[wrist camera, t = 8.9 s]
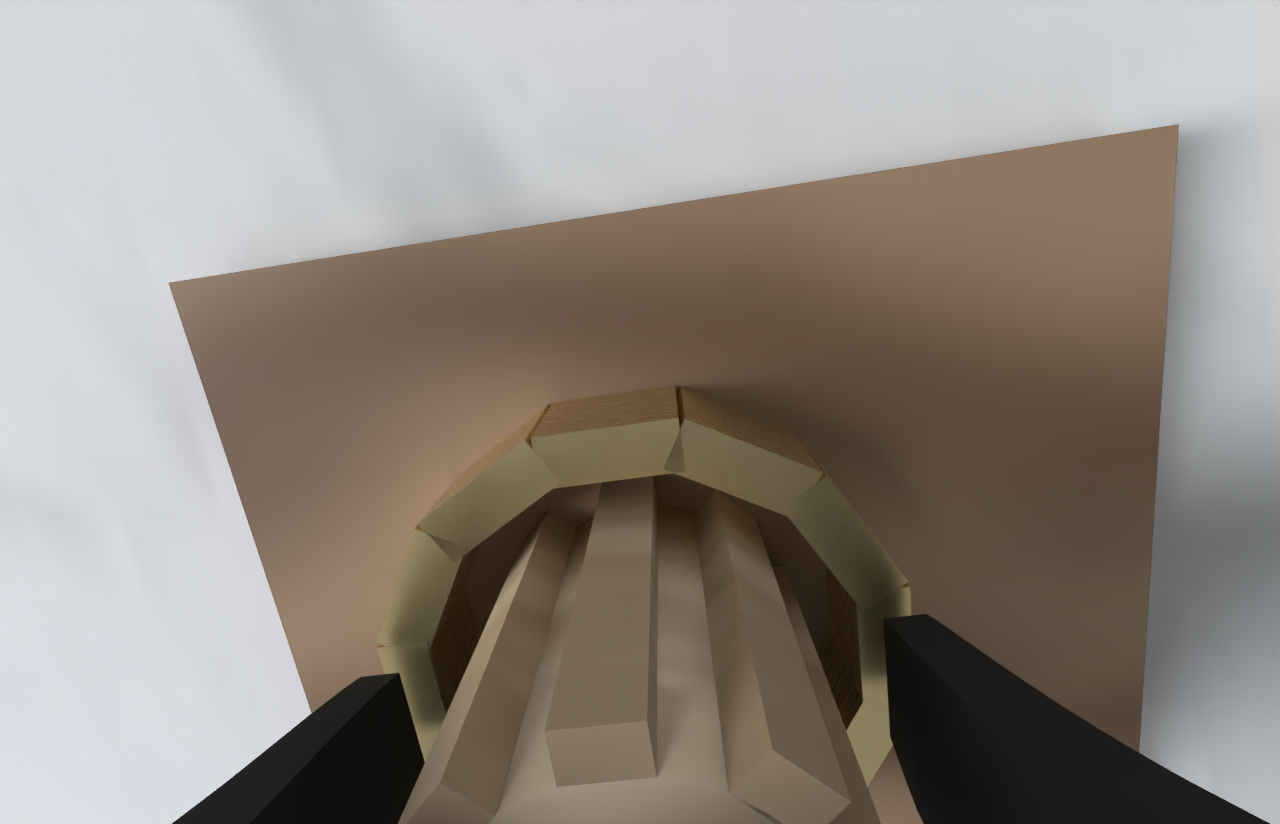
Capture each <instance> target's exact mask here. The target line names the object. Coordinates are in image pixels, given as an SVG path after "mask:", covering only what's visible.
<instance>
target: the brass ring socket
mask: <svg viewBox="0 0 1280 824" xmlns="http://www.w3.org/2000/svg"><path fill="white" fill-rule="evenodd" d="M671 473H675V474H678V475H680V476H683V477H686V478H688V479H691V480H694V481H696V482H699V483H701V484H704V485H707V486H709V487H712V488H714V489H717V490H720V491H722V492H725V493H727V494H730V495H733V496H735V497H738V498H741V499H743V500H746V501H748V502H751V503H754V504H756V505H759V506H761V507H764V508H767V509H769V510H772V511H775V512H777V513H780V514H782V515H785V516H788V518H789V519H790V520H791V521H792V523H793V524H794V525H795V526H796V528H797V529H798V530H799V531H800V533H801V534H802V535H803V536H804V538H805V539H806V540H807V541H808V543H809V544H810V545H811V547H812V548H813V549H814V550H815V552H816V553H817V554H818V555H819V557H820V558H821V559H822V560H823V562H824V563H825V567H826V579H827V591H828V604H829V616H830V629H829V631H828V633H827V635H826V636H825V638H824V640H823V642H822V644H821V645H820V647H819V649H818V651H817V655H818V657H819V660H820V663H821V665H822V668H823V671H824V673H825V676H826V678H827V681H828V684H829V686H830V689H831V692H832V694H833V697H834V700H835V702H836V705H837V708H838V710H839V713H840V716H841V718H842V721H843V724H844V726H845V729H846V732H847V734H848V737H849V740H850V742H851V745H852V748H853V750H854V753H855V755H856V758H857V761H858V763H859V766H860V769H861V771H862V774H863V777H864V779H865V782H866V785H867V787H868V785H869V784H870V782H871V780H872V779H873V777H874V775H875V774H876V772H877V770H878V769H879V767H880V766H881V764H882V762H883V761H884V759H885V757H886V756H887V754H888V753H889V751H890V749H891V748H892V746H893V744H892V741H891V738H890V725H889V708H888V691H887V673H886V656H885V638H884V621H883V619H884V618H893V617H902V616H911V593H910V586H909V584H908V583H907V582H908V580H907V579H906V578H905V576H904V575H903V574H902V572H901V571H900V569H899V568H898V567H897V565H896V564H895V562H894V561H893V560H892V558H891V557H890V555H889V554H888V553H887V551H886V550H885V548H884V547H883V546H882V544H881V543H880V541H879V540H878V539H877V537H876V536H875V535H874V533H873V532H872V530H871V529H870V528H869V526H868V525H867V523H866V522H865V521H864V519H863V518H862V517H861V515H860V514H859V513H858V512H857V510H856V509H855V508H854V506H853V505H852V504H851V502H850V501H849V500H848V498H847V497H846V496H845V495H844V493H843V492H842V491H841V489H840V488H839V487H838V485H837V484H836V483H835V481H834V480H833V479H832V477H831V476H830V475H829V474H828V472H827V471H826V470H825V468H824V467H823V466H822V464H821V463H820V462H819V460H818V459H817V458H816V457H815V455H814V454H813V453H812V451H811V450H810V449H809V447H808V446H807V445H806V443H805V442H804V441H803V440H802V438H801V437H800V436H799V434H798V435H797V434H796V433H795V431H793V430H791V429H788V428H786V427H783V426H780V425H778V424H775V423H773V422H770V421H768V420H765V419H763V418H760V417H758V416H755V415H752V414H750V413H747V412H745V411H742V410H740V409H737V408H735V407H732V406H730V405H727V404H725V403H722V402H719V401H717V400H714V399H712V398H709V397H707V396H704V395H702V394H699V393H697V392H694V391H691V390H689V389H686V388H684V387H681V386H680V388H679V391H678V393H677V396H676V390H675V386H668V387H660V388H653V389H646V390H639V391H631V392H624V393H617V394H610V395H603V396H595V397H588V398H581V399H574V400H566V401H559V402H553V403H552V405H551V406H549V405H547V406H545V407H544V408H543V409H542V410H540V411H539V412H538V413H537V414H535V415H534V416H533V417H531V418H530V419H529V420H528V421H526V422H525V423H524V424H523V425H521V426H520V427H519V428H517V429H516V430H515V431H514V432H512V433H511V434H510V435H509V436H507V437H506V438H505V439H504V440H502V441H501V442H500V443H498V444H497V445H496V446H495V447H493V448H492V449H491V450H490V451H488V452H487V453H486V454H485V455H483V456H482V457H481V458H479V459H478V460H477V461H476V462H474V463H473V464H472V465H471V466H469V467H468V468H467V469H465V470H464V471H463V472H462V473H460V474H459V475H458V476H457V477H456V479H455V480H454V481H453V482H452V483H451V484H450V486H449V487H448V488H447V489H446V490H445V492H444V493H443V494H442V495H441V496H440V498H439V499H438V500H437V501H436V502H435V504H434V505H433V506H432V507H431V508H430V510H429V511H428V512H427V513H426V514H425V516H424V517H423V518H422V519H421V520H420V522H419V523H418V525H417V526H416V527H415V528H414V531H413V534H412V537H411V540H410V543H409V546H408V549H407V553H406V556H405V559H404V562H403V565H402V568H401V571H400V574H399V577H398V580H397V583H396V586H395V589H394V592H393V595H392V598H391V601H390V604H389V608H388V611H387V614H386V617H385V620H384V623H383V626H382V629H381V632H380V635H379V638H378V641H377V643H379V646H378V647H377V650H378V653H379V657H380V660H381V663H382V667H383V670H384V674H391V673H399V674H400V677H401V681H402V684H403V688H404V691H405V695H406V698H407V702H408V705H409V709H410V712H411V716H412V719H413V723H414V726H415V730H416V733H417V737H418V740H419V744H420V747H421V751H422V754H423V758H424V761H426V759H427V757H428V755H429V752H430V750H431V748H432V746H433V743H434V741H435V739H436V737H437V734H438V732H439V730H440V728H441V725H442V723H443V721H444V719H445V716H446V714H447V712H448V710H449V707H450V705H451V703H452V701H453V698H454V696H455V694H456V692H457V689H458V687H459V685H460V682H461V680H462V678H463V676H464V673H465V671H466V669H467V667H468V664H469V662H470V660H471V658H472V655H473V653H474V651H475V649H476V646H477V644H478V642H479V636H478V632H477V628H476V624H475V620H474V616H473V612H472V608H471V604H470V600H469V595H468V591H467V587H466V583H467V580H468V577H469V574H470V572H471V569H472V566H473V563H474V561H475V558H476V555H477V552H478V549H479V547H480V544H481V542H482V541H484V540H485V539H486V538H488V537H489V536H490V535H492V534H493V533H494V532H496V531H497V530H498V529H500V528H501V527H502V526H504V525H505V524H506V523H508V522H509V521H510V520H512V519H513V518H514V517H516V516H517V515H518V514H520V513H521V512H522V511H524V510H525V509H526V508H528V507H529V506H530V505H532V504H533V503H534V502H536V501H537V500H538V499H539V498H541V497H542V496H543V495H545V494H546V493H547V492H549V491H550V490H551V489H555V488H562V487H570V486H578V485H586V484H593V483H601V482H609V481H617V480H624V479H632V478H640V477H648V476H655V475H663V474H671Z"/></svg>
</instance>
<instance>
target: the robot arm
mask: <svg viewBox="0 0 1280 824" xmlns="http://www.w3.org/2000/svg"><path fill="white" fill-rule="evenodd" d="M883 621H884V638H885V656H886V673H887V691H888V708H889V725H890V738H891V741H892V744H893V746H894V749H895V752H896V755H897V757H898V760H899V763H900V766H901V769H902V771H903V774H904V777H905V780H906V782H907V785H908V788H909V790H910V793H911V796H912V798H913V801H914V803H915V806H916V809H917V811H918V813H919V815H920V817H921V819H922V822H923V824H1270V823H1268V822H1266V821H1264V820H1262V819H1260V818H1258V817H1256V816H1254V815H1252V814H1250V813H1248V812H1247V811H1245V810H1243V809H1241V808H1239V807H1237V806H1235V805H1233V804H1231V803H1229V802H1228V801H1226V800H1224V799H1222V798H1220V797H1218V796H1216V795H1214V794H1212V793H1210V792H1208V791H1207V790H1205V789H1203V788H1201V787H1199V786H1197V785H1195V784H1193V783H1191V782H1189V781H1188V780H1186V779H1184V778H1182V777H1180V776H1179V775H1177V774H1175V773H1173V772H1171V771H1170V770H1168V769H1166V768H1164V767H1163V766H1161V765H1159V764H1157V763H1155V762H1154V761H1152V760H1150V759H1149V758H1147V757H1145V756H1144V755H1142V754H1140V753H1139V752H1137V751H1135V750H1133V749H1132V748H1130V747H1128V746H1127V745H1125V744H1123V743H1122V742H1120V741H1118V740H1117V739H1115V738H1113V737H1112V736H1110V735H1108V734H1107V733H1105V732H1103V731H1102V730H1100V729H1098V728H1097V727H1095V726H1093V725H1092V724H1090V723H1089V722H1087V721H1085V720H1084V719H1082V718H1081V717H1079V716H1077V715H1076V714H1074V713H1073V712H1071V711H1070V710H1068V709H1066V708H1065V707H1063V706H1062V705H1060V704H1059V703H1057V702H1056V701H1054V700H1052V699H1051V698H1049V697H1048V696H1046V695H1045V694H1043V693H1042V692H1040V691H1039V690H1037V689H1036V688H1034V687H1033V686H1031V685H1030V684H1028V683H1027V682H1025V681H1024V680H1022V679H1021V678H1019V677H1018V676H1016V675H1015V674H1013V673H1012V672H1010V671H1009V670H1008V669H1006V668H1005V667H1003V666H1002V665H1000V664H999V663H997V662H996V661H995V660H993V659H992V658H990V657H989V656H987V655H986V654H984V653H983V652H982V651H980V650H979V649H977V648H976V647H974V646H973V645H972V644H970V643H969V642H967V641H966V640H964V639H963V638H962V637H960V636H959V635H957V634H956V633H954V632H953V631H952V630H950V629H949V628H947V627H946V626H944V625H943V624H942V623H940V622H939V621H937V620H936V619H934V618H933V617H931V616H930V615H928V614H920V615H911V616H902V617H893V618H884V619H883ZM424 764H425V761H424V758H423V754H422V751H421V747H420V744H419V740H418V737H417V733H416V730H415V726H414V723H413V719H412V716H411V712H410V709H409V705H408V702H407V698H406V695H405V691H404V688H403V684H402V681H401V677H400V674H399V673H391V674H382V675H373V676H364V677H360V678H358V679H357V680H355V681H354V682H352V683H351V684H350V685H348V686H347V687H345V688H344V689H343V690H341V691H340V692H339V693H337V694H336V695H335V696H333V697H332V698H331V699H330V700H328V701H327V702H326V703H324V704H323V705H322V706H321V707H319V708H318V709H317V710H316V711H314V712H313V713H312V714H311V715H309V716H308V717H307V718H306V719H304V720H303V721H302V722H301V723H299V724H298V725H297V726H296V727H294V728H293V729H292V730H291V731H289V732H288V733H287V734H286V735H285V736H283V737H282V738H281V739H280V740H278V741H277V742H276V743H275V744H273V745H272V746H271V747H270V748H268V749H267V750H266V751H265V752H263V753H262V754H261V755H260V756H258V757H257V758H256V759H255V760H253V761H252V762H251V763H250V764H248V765H247V766H246V767H245V768H243V769H242V770H241V771H240V772H239V773H237V774H236V775H235V776H234V777H232V778H231V779H230V780H229V781H227V782H226V783H225V784H223V785H222V786H221V787H220V788H218V789H217V790H216V791H214V792H213V793H212V794H210V795H209V796H208V797H206V798H205V799H204V800H202V801H201V802H200V803H198V804H197V805H196V806H195V807H193V808H192V809H191V810H189V811H188V812H187V813H185V814H184V815H183V816H181V817H180V818H179V819H177V820H176V821H175V822H173V823H172V824H398V822H399V820H400V818H401V815H402V813H403V811H404V809H405V806H406V804H407V802H408V800H409V797H410V795H411V793H412V791H413V788H414V786H415V784H416V782H417V779H418V777H419V775H420V773H421V770H422V768H423V766H424Z"/></svg>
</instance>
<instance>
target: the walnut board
mask: <svg viewBox="0 0 1280 824" xmlns="http://www.w3.org/2000/svg"><path fill="white" fill-rule="evenodd" d="M1178 127H1179V124H1178V125H1172V126H1165V127H1159V128H1153V129H1146V130H1140V131H1133V132H1127V133H1121V134H1114V135H1108V136H1102V137H1095V138H1089V139H1082V140H1076V141H1070V142H1063V143H1057V144H1051V145H1044V146H1038V147H1031V148H1025V149H1019V150H1012V151H1006V152H1000V153H993V154H987V155H980V156H974V157H968V158H961V159H955V160H949V161H942V162H936V163H929V164H923V165H917V166H910V167H904V168H898V169H891V170H885V171H878V172H872V173H866V174H859V175H853V176H847V177H840V178H834V179H827V180H821V181H815V182H808V183H802V184H796V185H789V186H783V187H776V188H770V189H764V190H757V191H751V192H745V193H738V194H732V195H725V196H719V197H713V198H706V199H700V200H694V201H687V202H681V203H674V204H668V205H662V206H655V207H649V208H643V209H636V210H630V211H623V212H617V213H611V214H604V215H598V216H592V217H585V218H579V219H572V220H566V221H560V222H553V223H547V224H541V225H534V226H528V227H521V228H515V229H509V230H502V231H496V232H490V233H483V234H477V235H470V236H464V237H458V238H451V239H445V240H439V241H432V242H426V243H419V244H413V245H407V246H400V247H394V248H388V249H381V250H375V251H368V252H362V253H356V254H349V255H343V256H337V257H330V258H324V259H318V260H311V261H305V262H298V263H292V264H286V265H279V266H273V267H267V268H260V269H254V270H247V271H241V272H235V273H228V274H222V275H216V276H209V277H203V278H196V279H190V280H184V281H177V282H171V283H169V286H170V289H171V292H172V295H173V298H174V301H175V304H176V307H177V310H178V313H179V316H180V319H181V322H182V325H183V328H184V331H185V334H186V337H187V340H188V343H189V346H190V349H191V352H192V355H193V358H194V361H195V364H196V367H197V370H198V373H199V376H200V379H201V382H202V385H203V388H204V391H205V394H206V397H207V400H208V403H209V406H210V409H211V412H212V415H213V418H214V421H215V424H216V427H217V430H218V433H219V436H220V439H221V442H222V445H223V448H224V451H225V454H226V457H227V460H228V463H229V466H230V469H231V472H232V475H233V478H234V481H235V484H236V487H237V490H238V493H239V496H240V499H241V502H242V505H243V508H244V511H245V514H246V517H247V520H248V523H249V526H250V529H251V532H252V535H253V538H254V541H255V544H256V547H257V550H258V553H259V556H260V559H261V562H262V565H263V568H264V571H265V574H266V577H267V580H268V583H269V586H270V589H271V592H272V595H273V598H274V601H275V604H276V607H277V610H278V613H279V616H280V619H281V622H282V625H283V628H284V631H285V634H286V637H287V640H288V643H289V646H290V649H291V652H292V655H293V658H294V661H295V664H296V667H297V670H298V673H299V676H300V679H301V682H302V685H303V688H304V691H305V694H306V697H307V700H308V703H309V706H310V709H311V712H312V713H313V712H314V711H316V710H317V709H318V708H319V707H321V706H322V705H323V704H324V703H326V702H327V701H328V700H330V699H331V698H332V697H333V696H335V695H336V694H337V693H339V692H340V691H341V690H343V689H344V688H345V687H347V686H348V685H350V684H351V683H352V682H354V681H355V680H357V679H358V678H360V677H364V676H373V675H382V674H384V670H383V667H382V663H381V660H380V657H379V653H378V650H377V647H378V646H379V643H377V641H378V638H379V635H380V632H381V629H382V626H383V623H384V620H385V617H386V614H387V611H388V608H389V604H390V601H391V598H392V595H393V592H394V589H395V586H396V583H397V580H398V577H399V574H400V571H401V568H402V565H403V562H404V559H405V556H406V553H407V549H408V546H409V543H410V540H411V537H412V534H413V531H414V528H415V527H416V526H417V525H418V523H419V522H420V520H421V519H422V518H423V517H424V516H425V514H426V513H427V512H428V511H429V510H430V508H431V507H432V506H433V505H434V504H435V502H436V501H437V500H438V499H439V498H440V496H441V495H442V494H443V493H444V492H445V490H446V489H447V488H448V487H449V486H450V484H451V483H452V482H453V481H454V480H455V479H456V477H457V476H458V475H459V474H460V473H462V472H463V471H464V470H465V469H467V468H468V467H469V466H471V465H472V464H473V463H474V462H476V461H477V460H478V459H479V458H481V457H482V456H483V455H485V454H486V453H487V452H488V451H490V450H491V449H492V448H493V447H495V446H496V445H497V444H498V443H500V442H501V441H502V440H504V439H505V438H506V437H507V436H509V435H510V434H511V433H512V432H514V431H515V430H516V429H517V428H519V427H520V426H521V425H523V424H524V423H525V422H526V421H528V420H529V419H530V418H531V417H533V416H534V415H535V414H537V413H538V412H539V411H540V410H542V409H543V408H544V407H545V406H547V405H549V406H551V405H552V403H553V402H559V401H566V400H574V399H581V398H588V397H595V396H603V395H610V394H617V393H624V392H631V391H639V390H646V389H653V388H660V387H668V386H675V390H676V396H677V393H678V391H679V388H680V386H681V387H684V388H686V389H689V390H691V391H694V392H697V393H699V394H702V395H704V396H707V397H709V398H712V399H714V400H717V401H719V402H722V403H725V404H727V405H730V406H732V407H735V408H737V409H740V410H742V411H745V412H747V413H750V414H752V415H755V416H758V417H760V418H763V419H765V420H768V421H770V422H773V423H775V424H778V425H780V426H783V427H786V428H788V429H791V430H793V431H795V433H796V434H797V435H798V434H799V436H800V437H801V438H802V440H803V441H804V442H805V443H806V445H807V446H808V447H809V449H810V450H811V451H812V453H813V454H814V455H815V457H816V458H817V459H818V460H819V462H820V463H821V464H822V466H823V467H824V468H825V470H826V471H827V472H828V474H829V475H830V476H831V477H832V479H833V480H834V481H835V483H836V484H837V485H838V487H839V488H840V489H841V491H842V492H843V493H844V495H845V496H846V497H847V498H848V500H849V501H850V502H851V504H852V505H853V506H854V508H855V509H856V510H857V512H858V513H859V514H860V515H861V517H862V518H863V519H864V521H865V522H866V523H867V525H868V526H869V528H870V529H871V530H872V532H873V533H874V535H875V536H876V537H877V539H878V540H879V541H880V543H881V544H882V546H883V547H884V548H885V550H886V551H887V553H888V554H889V555H890V557H891V558H892V560H893V561H894V562H895V564H896V565H897V567H898V568H899V569H900V571H901V572H902V574H903V575H904V576H905V578H906V579H907V580H908V582H907V583H908V584H909V586H910V593H911V615H920V614H928V615H930V616H931V617H933V618H934V619H936V620H937V621H939V622H940V623H942V624H943V625H944V626H946V627H947V628H949V629H950V630H952V631H953V632H954V633H956V634H957V635H959V636H960V637H962V638H963V639H964V640H966V641H967V642H969V643H970V644H972V645H973V646H974V647H976V648H977V649H979V650H980V651H982V652H983V653H984V654H986V655H987V656H989V657H990V658H992V659H993V660H995V661H996V662H997V663H999V664H1000V665H1002V666H1003V667H1005V668H1006V669H1008V670H1009V671H1010V672H1012V673H1013V674H1015V675H1016V676H1018V677H1019V678H1021V679H1022V680H1024V681H1025V682H1027V683H1028V684H1030V685H1031V686H1033V687H1034V688H1036V689H1037V690H1039V691H1040V692H1042V693H1043V694H1045V695H1046V696H1048V697H1049V698H1051V699H1052V700H1054V701H1056V702H1057V703H1059V704H1060V705H1062V706H1063V707H1065V708H1066V709H1068V710H1070V711H1071V712H1073V713H1074V714H1076V715H1077V716H1079V717H1081V718H1082V719H1084V720H1085V721H1087V722H1089V723H1090V724H1092V725H1093V726H1095V727H1097V728H1098V729H1100V730H1102V731H1103V732H1105V733H1107V734H1108V735H1110V736H1112V737H1113V738H1115V739H1117V740H1118V741H1120V742H1122V743H1123V744H1125V745H1127V746H1128V747H1130V748H1132V749H1133V750H1135V751H1137V752H1139V742H1140V726H1141V711H1142V695H1143V679H1144V663H1145V648H1146V632H1147V616H1148V600H1149V584H1150V569H1151V553H1152V537H1153V521H1154V506H1155V490H1156V474H1157V458H1158V442H1159V427H1160V411H1161V395H1162V379H1163V364H1164V348H1165V332H1166V316H1167V301H1168V285H1169V269H1170V253H1171V237H1172V222H1173V206H1174V190H1175V174H1176V159H1177V143H1178ZM654 481H655V487H656V494H657V501H658V504H662V505H667V506H673V507H678V508H681V509H684V510H687V511H690V512H693V513H694V512H695V511H696V510H697V509H698V507H699V506H700V505H701V504H702V503H703V501H704V500H705V499H706V498H707V497H708V496H709V494H710V493H711V492H712V491H713V490H714V488H712V487H709V486H707V485H704V484H701V483H699V482H696V481H694V480H691V479H688V478H686V477H683V476H680V475H678V474H675V473H671V474H663V475H655V476H654ZM601 484H602V482H601V483H593V484H586V485H578V486H570V487H562V488H555V489H551V490H550V491H549V492H547V493H546V494H545V495H543V496H542V497H541V498H539V499H538V500H537V501H536V502H534V503H533V504H532V505H530V506H529V507H528V508H526V509H525V510H524V511H522V512H521V513H520V514H518V515H517V516H516V517H514V518H513V519H512V520H510V521H509V522H508V523H506V524H505V525H504V526H502V527H501V528H500V529H498V530H497V531H496V532H494V533H493V534H492V535H490V536H489V537H488V538H486V539H485V540H484V541H482V542H481V544H480V547H479V549H478V552H477V555H476V558H475V561H474V563H473V566H472V569H471V572H470V574H469V577H468V580H467V583H466V587H467V591H468V595H469V600H470V604H471V608H472V612H473V616H474V620H475V624H476V628H477V632H478V636H479V640H480V637H481V635H482V633H483V631H484V628H485V626H486V624H487V622H488V619H489V617H490V615H491V613H492V610H493V608H494V606H495V604H496V601H497V599H498V597H499V595H500V592H501V590H502V588H503V586H504V583H505V581H506V579H507V577H508V574H509V572H510V570H511V568H512V565H513V563H514V561H515V559H516V556H517V554H518V552H519V550H520V547H521V545H522V544H523V542H524V541H525V540H526V538H527V537H528V536H529V535H530V533H531V532H532V531H533V529H534V528H535V527H536V525H537V524H538V523H539V522H540V520H541V519H542V518H543V516H544V515H545V514H546V512H547V511H548V510H549V509H551V510H552V511H554V512H555V513H557V514H558V515H560V516H561V517H563V518H564V519H566V520H567V521H569V522H570V523H571V524H573V525H574V526H576V527H578V526H579V525H581V524H582V523H584V522H585V521H587V520H589V519H590V518H592V517H594V514H595V510H596V506H597V501H598V497H599V493H600V488H601ZM719 491H720V490H719ZM720 492H721V493H723V494H724V495H726V496H727V497H728V498H730V499H731V500H733V501H734V502H735V503H737V504H738V505H739V506H741V507H742V508H744V509H745V510H746V511H748V512H749V513H751V514H752V515H753V516H755V519H756V522H757V525H758V528H759V531H760V534H761V536H762V539H763V542H764V545H765V548H766V551H767V554H768V557H769V560H770V563H771V566H772V567H777V566H784V567H785V570H786V572H787V575H788V578H789V580H790V583H791V586H792V588H793V591H794V594H795V596H796V599H797V602H798V604H799V607H800V609H801V612H802V615H803V617H804V620H805V623H806V625H807V628H808V631H809V633H810V636H811V639H812V641H813V644H814V647H815V649H816V652H817V651H818V649H819V647H820V645H821V644H822V642H823V640H824V638H825V636H826V635H827V633H828V631H829V629H830V616H829V604H828V591H827V579H826V567H825V563H824V562H823V560H822V559H821V558H820V557H819V555H818V554H817V553H816V552H815V550H814V549H813V548H812V547H811V545H810V544H809V543H808V541H807V540H806V539H805V538H804V536H803V535H802V534H801V533H800V531H799V530H798V529H797V528H796V526H795V525H794V524H793V523H792V521H791V520H790V519H789V518H788V516H785V515H782V514H780V513H777V512H775V511H772V510H769V509H767V508H764V507H761V506H759V505H756V504H754V503H751V502H748V501H746V500H743V499H741V498H738V497H735V496H733V495H730V494H727V493H725V492H722V491H720ZM868 790H869V793H870V795H871V798H872V801H873V803H874V806H875V809H876V811H877V814H878V817H879V819H880V822H881V824H923V822H922V819H921V817H920V815H919V813H918V811H917V809H916V806H915V803H914V801H913V798H912V796H911V793H910V790H909V788H908V785H907V782H906V780H905V777H904V774H903V771H902V769H901V766H900V763H899V760H898V757H897V755H896V752H895V749H894V746H892V748H891V749H890V751H889V753H888V754H887V756H886V757H885V759H884V761H883V762H882V764H881V766H880V767H879V769H878V770H877V772H876V774H875V775H874V777H873V779H872V780H871V782H870V784H869V785H868Z"/></svg>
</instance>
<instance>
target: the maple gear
mask: <svg viewBox="0 0 1280 824" xmlns="http://www.w3.org/2000/svg"><path fill="white" fill-rule="evenodd" d="M398 824H881V822H880V819H879V817H878V814H877V811H876V809H875V806H874V803H873V801H872V798H871V795H870V793H869V790H868V787H867V785H866V782H865V779H864V777H863V774H862V771H861V769H860V766H859V763H858V761H857V758H856V755H855V753H854V750H853V748H852V745H851V742H850V740H849V737H848V734H847V732H846V729H845V726H844V724H843V721H842V718H841V716H840V713H839V710H838V708H837V705H836V702H835V700H834V697H833V694H832V692H831V689H830V686H829V684H828V681H827V678H826V676H825V673H824V671H823V668H822V665H821V663H820V660H819V657H818V655H817V652H816V649H815V647H814V644H813V641H812V639H811V636H810V633H809V631H808V628H807V625H806V623H805V620H804V617H803V615H802V612H801V609H800V607H799V604H798V602H797V599H796V596H795V594H794V591H793V588H792V586H791V583H790V580H789V578H788V575H787V572H786V570H785V567H784V566H777V567H772V566H771V563H770V560H769V557H768V554H767V551H766V548H765V545H764V542H763V539H762V536H761V534H760V531H759V528H758V525H757V522H756V519H755V516H753V515H752V514H751V513H749V512H748V511H746V510H745V509H744V508H742V507H741V506H739V505H738V504H737V503H735V502H734V501H733V500H731V499H730V498H728V497H727V496H726V495H724V494H723V493H721V492H720V491H719V490H717V489H714V490H713V491H712V492H711V493H710V494H709V496H708V497H707V498H706V499H705V500H704V501H703V503H702V504H701V505H700V506H699V507H698V509H697V510H696V511H695V512H694V513H693V512H690V511H687V510H684V509H681V508H678V507H673V506H667V505H662V504H658V501H657V494H656V487H655V481H654V476H648V477H640V478H632V479H624V480H617V481H609V482H602V484H601V488H600V493H599V497H598V501H597V506H596V510H595V514H594V517H592V518H590V519H589V520H587V521H585V522H584V523H582V524H581V525H579V526H578V527H576V526H574V525H573V524H571V523H570V522H569V521H567V520H566V519H564V518H563V517H561V516H560V515H558V514H557V513H555V512H554V511H552V510H551V509H549V510H548V511H547V512H546V514H545V515H544V516H543V518H542V519H541V520H540V522H539V523H538V524H537V525H536V527H535V528H534V529H533V531H532V532H531V533H530V535H529V536H528V537H527V538H526V540H525V541H524V542H523V544H522V545H521V547H520V550H519V552H518V554H517V556H516V559H515V561H514V563H513V565H512V568H511V570H510V572H509V574H508V577H507V579H506V581H505V583H504V586H503V588H502V590H501V592H500V595H499V597H498V599H497V601H496V604H495V606H494V608H493V610H492V613H491V615H490V617H489V619H488V622H487V624H486V626H485V628H484V631H483V633H482V635H481V637H480V640H479V642H478V644H477V646H476V649H475V651H474V653H473V655H472V658H471V660H470V662H469V664H468V667H467V669H466V671H465V673H464V676H463V678H462V680H461V682H460V685H459V687H458V689H457V692H456V694H455V696H454V698H453V701H452V703H451V705H450V707H449V710H448V712H447V714H446V716H445V719H444V721H443V723H442V725H441V728H440V730H439V732H438V734H437V737H436V739H435V741H434V743H433V746H432V748H431V750H430V752H429V755H428V757H427V759H426V761H425V764H424V766H423V768H422V770H421V773H420V775H419V777H418V779H417V782H416V784H415V786H414V788H413V791H412V793H411V795H410V797H409V800H408V802H407V804H406V806H405V809H404V811H403V813H402V815H401V818H400V820H399V822H398Z"/></svg>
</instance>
